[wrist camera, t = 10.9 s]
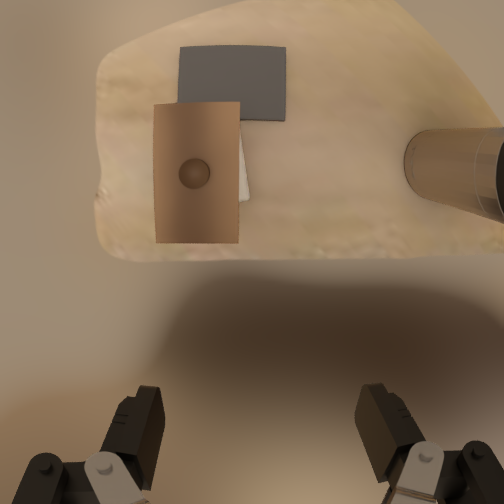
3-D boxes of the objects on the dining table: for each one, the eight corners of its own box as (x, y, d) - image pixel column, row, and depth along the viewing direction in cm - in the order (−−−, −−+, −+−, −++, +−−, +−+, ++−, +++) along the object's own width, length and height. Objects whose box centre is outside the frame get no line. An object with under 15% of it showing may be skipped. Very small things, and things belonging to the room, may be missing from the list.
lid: (240, 108, 23) (240, 99, 20) (238, 233, 26) (238, 247, 22) (163, 110, 23) (150, 102, 19) (165, 233, 26) (152, 246, 22)
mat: (284, 49, 32) (285, 47, 31) (284, 121, 35) (285, 120, 34) (181, 49, 32) (180, 47, 31) (178, 120, 34) (177, 119, 33)
